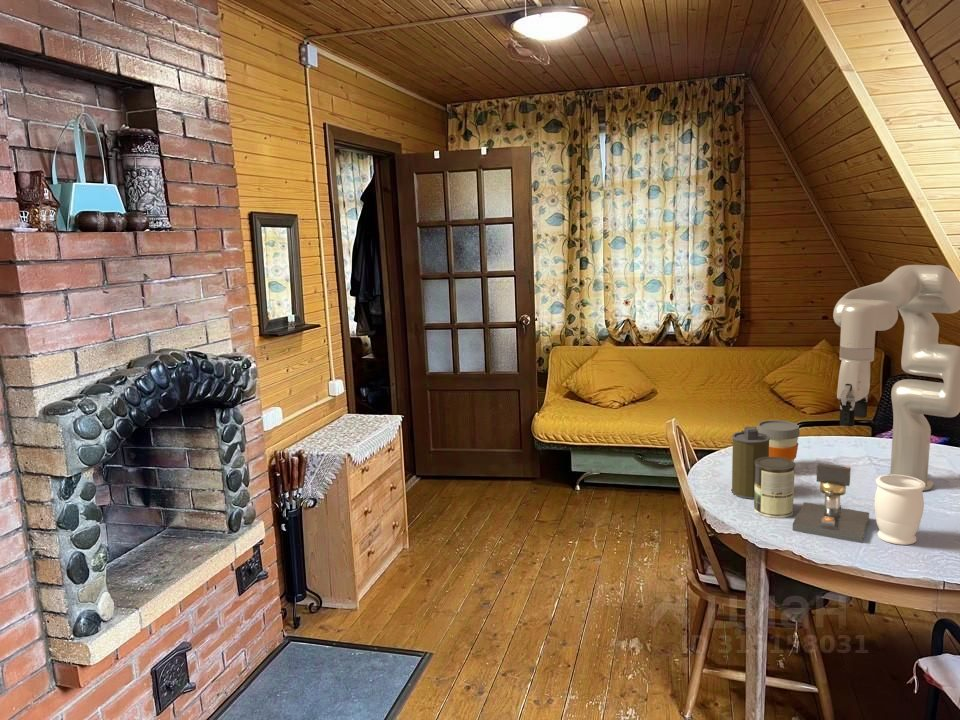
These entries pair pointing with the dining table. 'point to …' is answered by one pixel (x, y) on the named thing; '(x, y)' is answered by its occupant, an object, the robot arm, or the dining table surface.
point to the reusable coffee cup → (781, 438)
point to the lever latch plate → (831, 520)
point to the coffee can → (774, 487)
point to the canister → (747, 460)
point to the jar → (898, 508)
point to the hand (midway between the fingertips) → (853, 421)
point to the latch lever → (833, 479)
